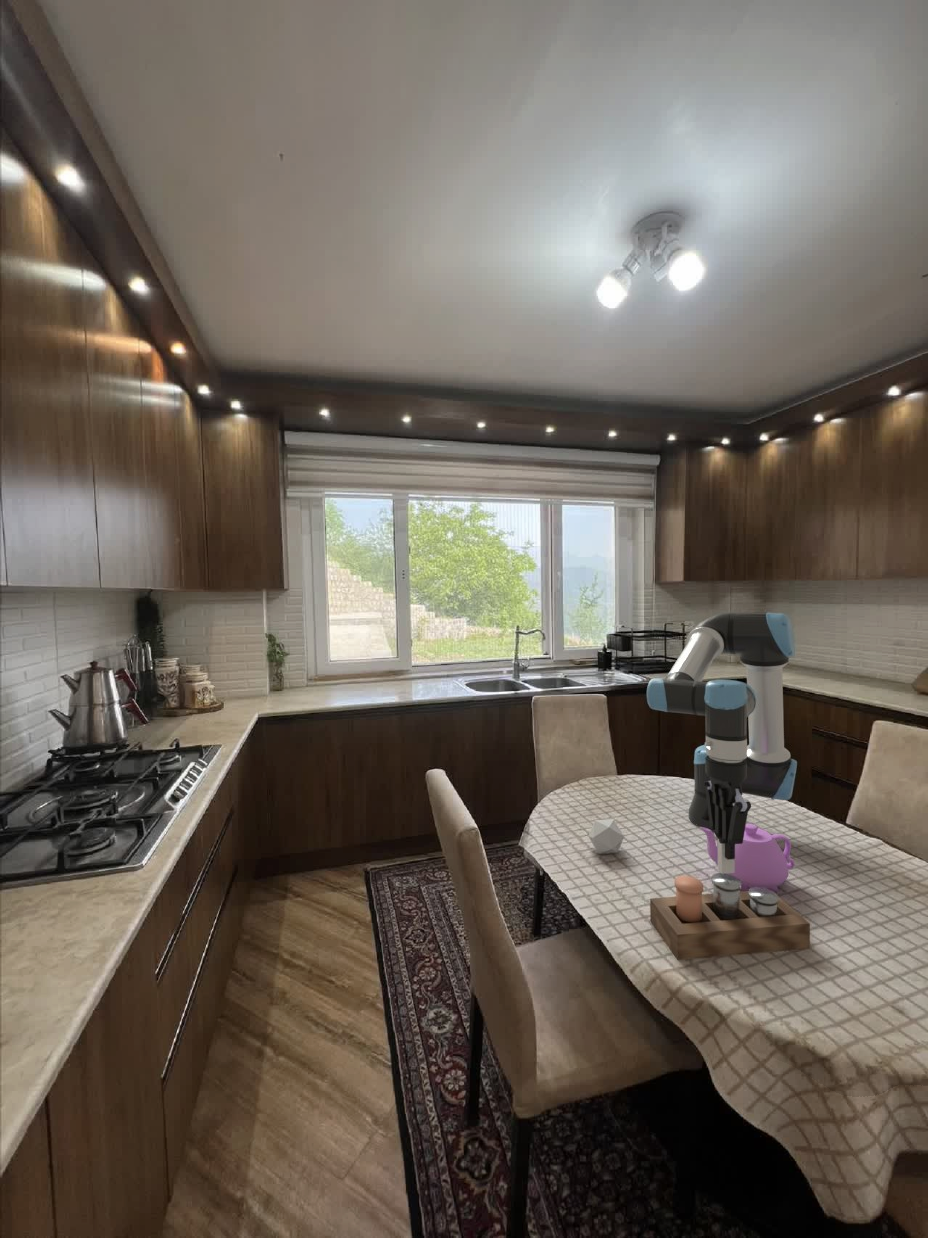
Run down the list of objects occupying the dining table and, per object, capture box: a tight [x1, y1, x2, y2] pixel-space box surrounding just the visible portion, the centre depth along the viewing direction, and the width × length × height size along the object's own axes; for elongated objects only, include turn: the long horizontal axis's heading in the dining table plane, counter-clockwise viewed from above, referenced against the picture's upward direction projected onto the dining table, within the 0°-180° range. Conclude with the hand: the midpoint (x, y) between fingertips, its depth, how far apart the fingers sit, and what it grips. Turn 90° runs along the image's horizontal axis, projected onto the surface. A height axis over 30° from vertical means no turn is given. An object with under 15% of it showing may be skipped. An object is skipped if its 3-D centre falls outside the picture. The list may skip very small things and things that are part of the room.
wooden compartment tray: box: [649, 889, 811, 961], centre depth 108 cm, size 27×12×5 cm, turn 95°
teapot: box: [699, 822, 795, 893], centre depth 127 cm, size 22×16×14 cm
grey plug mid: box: [711, 872, 741, 920], centre depth 107 cm, size 5×5×7 cm
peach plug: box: [674, 875, 704, 923], centre depth 107 cm, size 5×5×7 cm
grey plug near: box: [749, 887, 780, 917], centre depth 108 cm, size 5×5×7 cm
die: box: [588, 819, 625, 855], centre depth 143 cm, size 8×9×10 cm
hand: (726, 871), depth 107 cm, fingers closed
